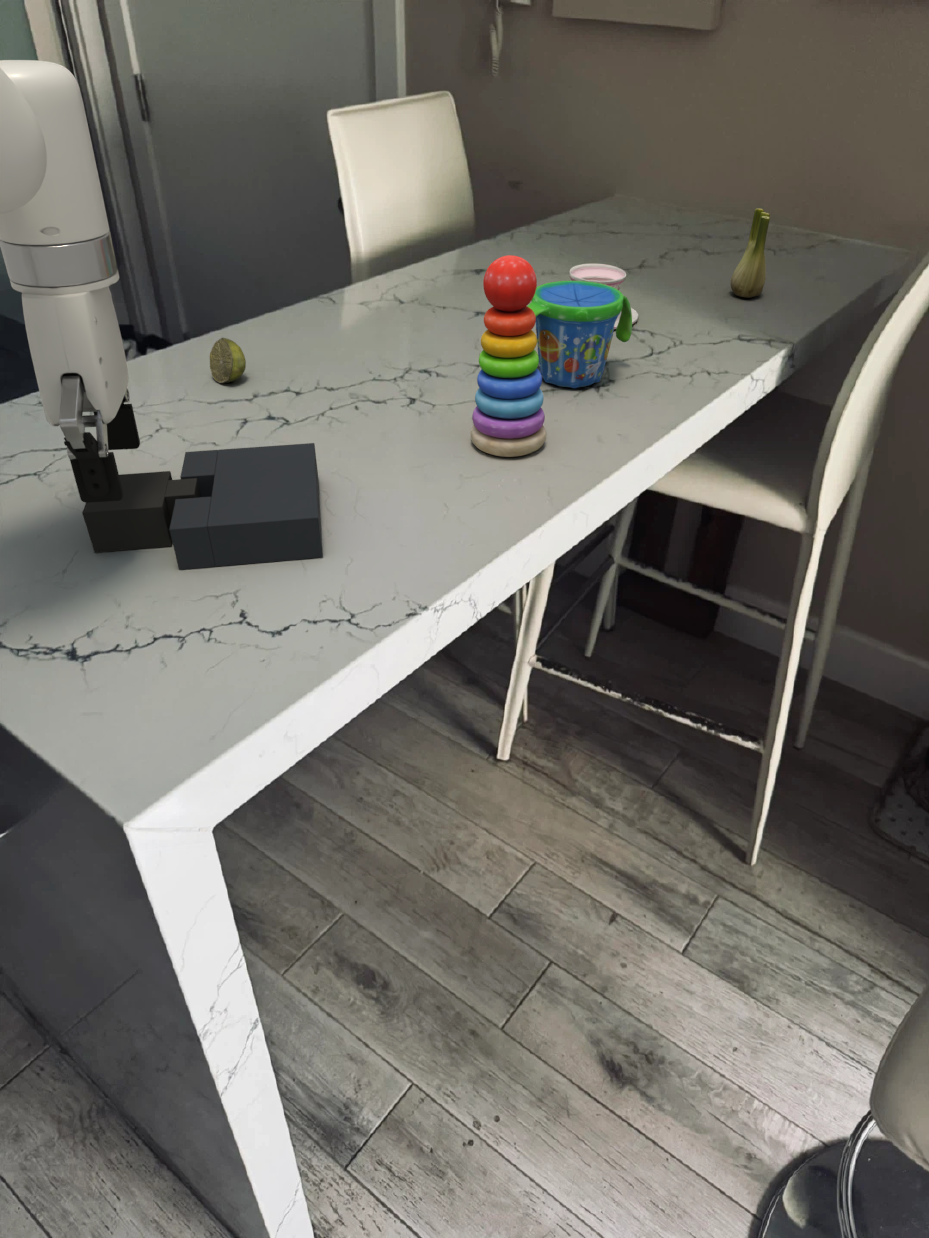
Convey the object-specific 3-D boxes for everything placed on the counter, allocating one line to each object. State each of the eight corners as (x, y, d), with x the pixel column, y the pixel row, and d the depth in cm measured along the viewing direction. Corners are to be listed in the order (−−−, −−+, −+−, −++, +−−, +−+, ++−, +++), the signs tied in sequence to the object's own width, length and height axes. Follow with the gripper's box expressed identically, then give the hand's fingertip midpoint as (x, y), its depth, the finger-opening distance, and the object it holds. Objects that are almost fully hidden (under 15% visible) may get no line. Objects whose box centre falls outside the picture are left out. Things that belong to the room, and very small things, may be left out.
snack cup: (604, 354, 112) (612, 272, 106) (649, 384, 105) (661, 297, 98) (494, 372, 107) (496, 288, 101) (533, 405, 100) (537, 316, 94)
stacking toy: (554, 432, 94) (566, 250, 83) (534, 465, 88) (544, 273, 77) (484, 422, 96) (486, 243, 85) (460, 453, 90) (459, 265, 79)
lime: (240, 388, 103) (234, 347, 100) (202, 385, 104) (195, 344, 101) (255, 374, 107) (249, 334, 104) (218, 371, 108) (211, 331, 105)
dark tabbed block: (94, 553, 75) (81, 512, 73) (106, 514, 80) (95, 476, 78) (201, 544, 76) (192, 504, 74) (206, 507, 82) (198, 468, 79)
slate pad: (178, 570, 73) (169, 529, 71) (193, 489, 84) (185, 451, 82) (322, 557, 75) (318, 517, 72) (318, 480, 86) (314, 442, 83)
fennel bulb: (755, 303, 128) (773, 216, 121) (723, 298, 130) (738, 212, 123) (766, 293, 132) (784, 208, 125) (734, 288, 134) (750, 203, 127)
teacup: (541, 307, 127) (544, 263, 123) (618, 301, 129) (623, 257, 126) (569, 335, 118) (572, 288, 114) (651, 328, 120) (657, 282, 116)
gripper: (35, 234, 70) (86, 433, 80) (-28, 296, 56) (43, 526, 66) (132, 233, 71) (170, 429, 81) (93, 293, 57) (145, 520, 68)
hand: (113, 472), depth 74 cm, fingers open, 9 cm apart
